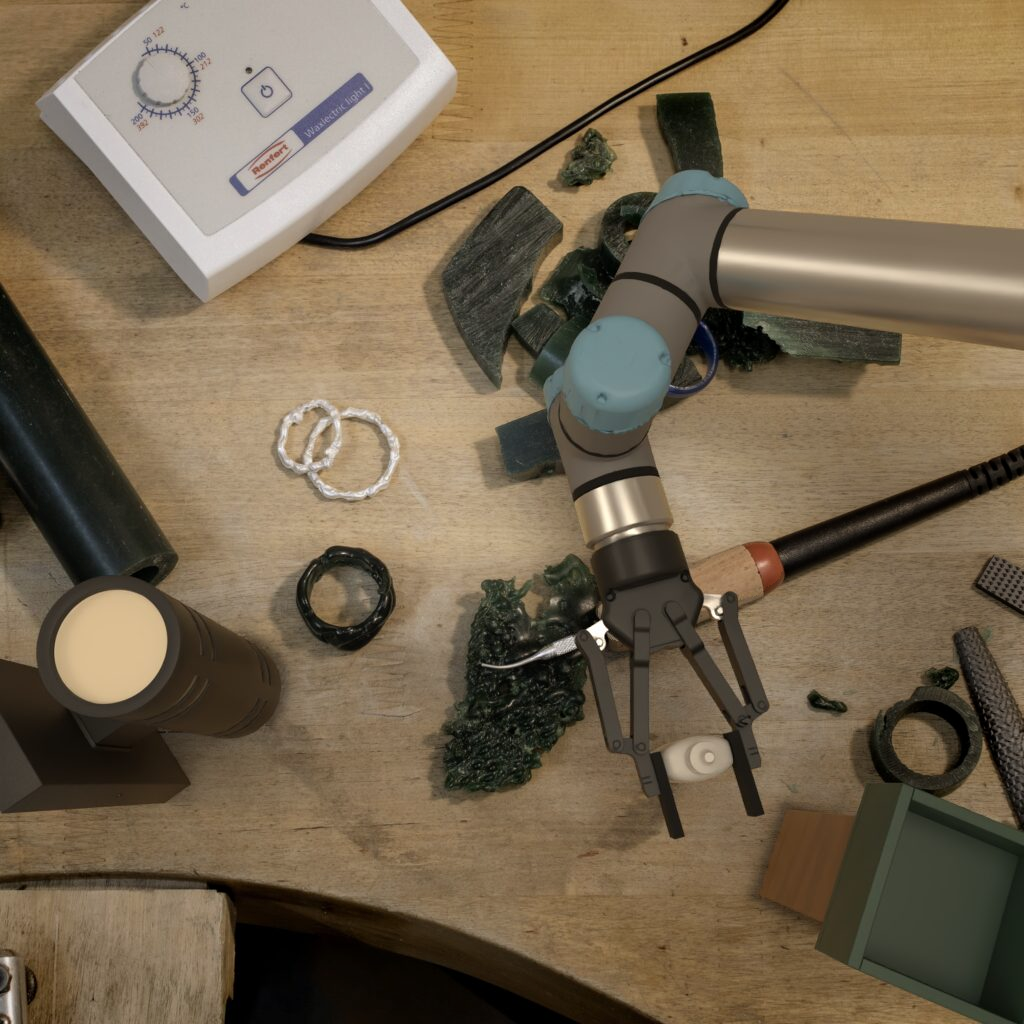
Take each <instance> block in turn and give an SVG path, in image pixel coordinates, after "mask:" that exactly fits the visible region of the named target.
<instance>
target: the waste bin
mask: <svg viewBox="0 0 1024 1024" xmlns="http://www.w3.org/2000/svg"><path fill="white" fill-rule="evenodd" d="M855 816H856V818H855V821H854V824H853V827H852V831H851V834H850V837H849V840H848V843H847V846H846V850H845V853H844V856H843V859H842V862H841V866H840V869H839V872H838V875H837V878H836V881H835V885H834V888H833V891H832V894H831V897H830V900H829V904H828V907H827V910H826V913H825V916H824V920H823V922H821V926H820V929H819V933H818V936H817V939H816V941H815V945H814V950H816V951H818V952H820V953H822V954H823V955H826V956H827V957H829V958H832V959H833V960H835V961H837V962H839V963H841V964H843V965H845V966H847V967H849V968H851V969H854V970H856V971H858V972H860V973H863V974H865V975H868V976H870V977H872V978H874V979H877V980H878V981H882V982H884V983H886V984H889V985H891V986H893V987H896V988H898V989H900V990H903V991H905V992H907V993H910V994H912V995H914V996H916V997H919V998H922V999H923V1000H926V1001H928V1002H930V1003H932V1004H935V1005H938V1006H939V1007H942V1008H945V1009H946V1010H949V1011H951V1012H954V1013H956V1014H958V1015H961V1016H964V1017H965V1018H968V1019H969V1020H973V1021H975V1022H977V1023H979V1024H1024V831H1021V830H1018V829H1017V828H1014V827H1012V826H1009V825H1007V824H1004V823H1002V822H1000V821H997V820H995V819H993V818H990V817H987V816H986V815H984V814H980V813H978V812H975V811H973V810H971V809H969V808H966V807H963V806H961V805H959V804H956V803H954V802H951V801H949V800H946V799H944V798H942V797H939V796H937V795H934V794H931V793H929V792H927V791H925V790H922V789H920V788H918V787H914V786H912V785H910V784H907V783H905V782H866V784H865V786H864V789H863V792H862V795H861V799H860V802H859V806H858V809H857V811H856V815H855Z"/></svg>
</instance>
